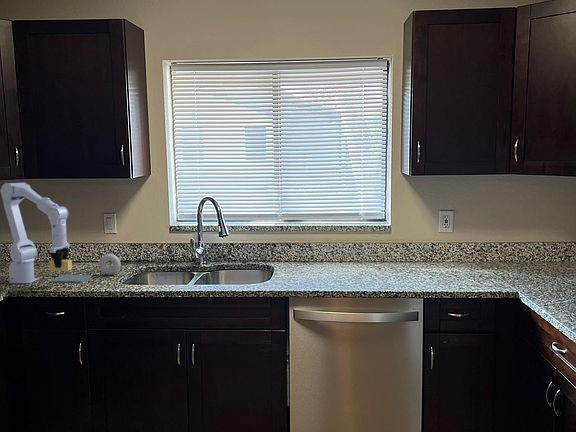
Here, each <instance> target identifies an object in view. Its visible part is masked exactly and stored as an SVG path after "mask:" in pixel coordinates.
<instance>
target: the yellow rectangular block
mask: <svg viewBox="0 0 576 432" xmlns="http://www.w3.org/2000/svg"><path fill="white" fill-rule="evenodd" d="M48 268H49V269H48V270H49V272H51V271H52V272H53V271H55V272H56V271H57V272H59V271H60V272H64V271H65V272H68V271H70V270H72V269H73V263H72V259H67V260H62V265H61V268H56V267H55V264H54V261H53V259H51V260H49V261H48Z"/></svg>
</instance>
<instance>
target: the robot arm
mask: <svg viewBox="0 0 576 432" xmlns="http://www.w3.org/2000/svg"><path fill="white" fill-rule="evenodd" d="M0 188H1V189H0V195H1V198H2V203H3V208H4V210H5V214H6V219H7V221H8V224H9V228H10V233H11V235H12V236H11V237H12V239H13V243H12V244H11V245H10V247H9V250H10V254H9V256H10V259H11V261H12V262H10V264H9V267H8V276H9V282H8V284H32V283H33V282H36V281H38V280H39V278H38V277H35V264H34V263H35V262H34V261H36V259H37V257H38V250H37V248H36V246H35V245H34V242H33V241H32V240H30V239H28V237H27V236H28V235H27V232H26V229H25V225H24V222H23V217H22V214H21V211H20V206H19V204H21V202H22V201H24V199H25V198H26V199H28V200H29V201H31V202H32V203H34V204H36V207H37V209H38V210H40V211H41V212H43V213H44V214H45V215H47V219H48V220H49V223H50V226H51V247H49V252H48V254H49V255H50V256H51V258H52V259H51V260H53V261H54V264H55V267H56V268H61V265H62V260H68V256H69V253H70V252H71V248H70V247H71V246H70V242H68V241H67V219H68V218H69V217H70V216H69V214H70V212H69V210H68V209H67V207H66V206H59V204H58V203H55V202H54V201H52V200H51V198H49V197H42V196H41V195H39V194H38V192H36V191H35V190H33V189H32V188H31V185H30V184H28V183H26V182H25V181H22V182H10V183H9V182H5V183H4V184H2V186H1V187H0Z"/></svg>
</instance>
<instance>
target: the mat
mask: <svg viewBox="0 0 576 432" xmlns="http://www.w3.org/2000/svg"><path fill="white" fill-rule="evenodd" d="M92 277H93V274H62V275H59V276H57V277H55V278H53V279H51V280H50V282H51V284H54V283H55V282H56V283H57V284H72V283H73V284H83V283H85V282H86V281H87V280H89V279H91V278H92ZM52 282H53V283H52ZM56 283H55V284H56Z"/></svg>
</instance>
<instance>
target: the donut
mask: <svg viewBox="0 0 576 432" xmlns="http://www.w3.org/2000/svg"><path fill="white" fill-rule="evenodd" d="M108 262H111V263H112V266H111V267H109V266H108ZM98 263H99V264H98V265H99V269H100V271H101V272H102V273H103V274H105V275H108V276H112V275H115V274H117V273H118V272H119V271H120V269H121V265H122V263H121V260H120V258H119V257H118V256H117V255H115V254H112V253H108V254H104V255H103V256H102V257H101V258H100V260H99V262H98Z"/></svg>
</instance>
